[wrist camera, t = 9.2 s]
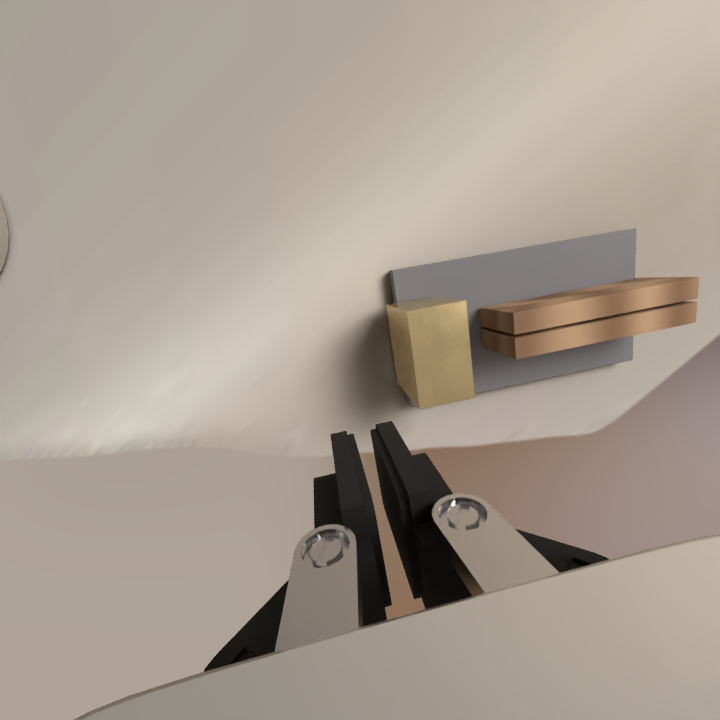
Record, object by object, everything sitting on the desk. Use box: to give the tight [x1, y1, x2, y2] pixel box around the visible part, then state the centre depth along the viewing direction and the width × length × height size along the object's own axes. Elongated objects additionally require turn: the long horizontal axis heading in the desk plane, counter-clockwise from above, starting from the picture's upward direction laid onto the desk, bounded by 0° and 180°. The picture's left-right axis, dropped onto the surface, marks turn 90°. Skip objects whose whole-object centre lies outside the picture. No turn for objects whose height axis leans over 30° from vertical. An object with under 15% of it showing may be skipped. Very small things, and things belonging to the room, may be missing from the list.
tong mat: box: [389, 228, 636, 407], centre depth 31 cm, size 22×12×1 cm, turn 100°
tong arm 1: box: [480, 277, 699, 335], centre depth 28 cm, size 15×2×5 cm, turn 100°
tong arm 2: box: [482, 301, 697, 359], centre depth 28 cm, size 15×2×5 cm, turn 100°
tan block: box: [386, 296, 475, 409], centre depth 26 cm, size 4×7×6 cm, turn 10°
